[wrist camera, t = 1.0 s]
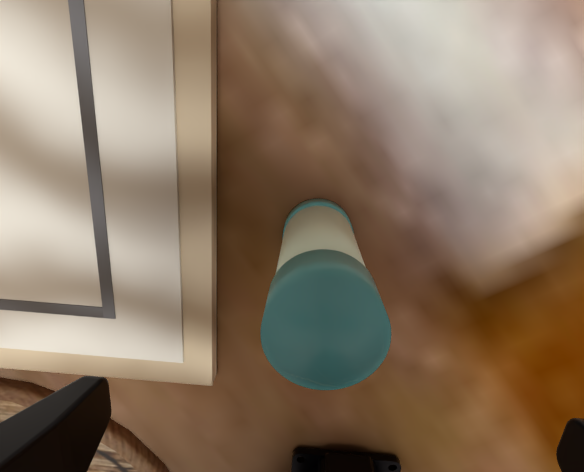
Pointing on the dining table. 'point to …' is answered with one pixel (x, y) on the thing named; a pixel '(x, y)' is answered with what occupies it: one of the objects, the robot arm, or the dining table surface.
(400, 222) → the dining table surface
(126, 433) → the trivet
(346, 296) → the teal-banded white cylinder
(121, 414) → the dining table surface
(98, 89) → the board
